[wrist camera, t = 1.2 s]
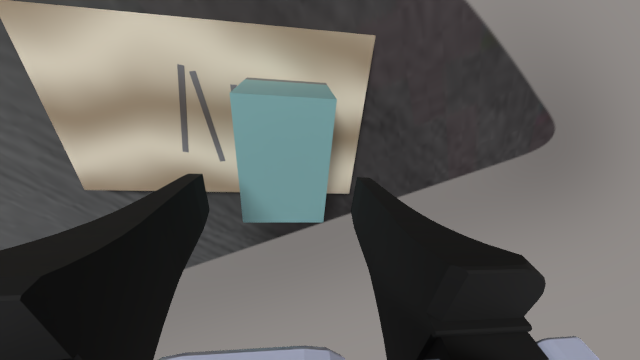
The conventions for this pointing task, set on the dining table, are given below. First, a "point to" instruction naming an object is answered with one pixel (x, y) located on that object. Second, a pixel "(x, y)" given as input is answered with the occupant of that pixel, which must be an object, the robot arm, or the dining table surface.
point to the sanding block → (283, 148)
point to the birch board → (174, 89)
